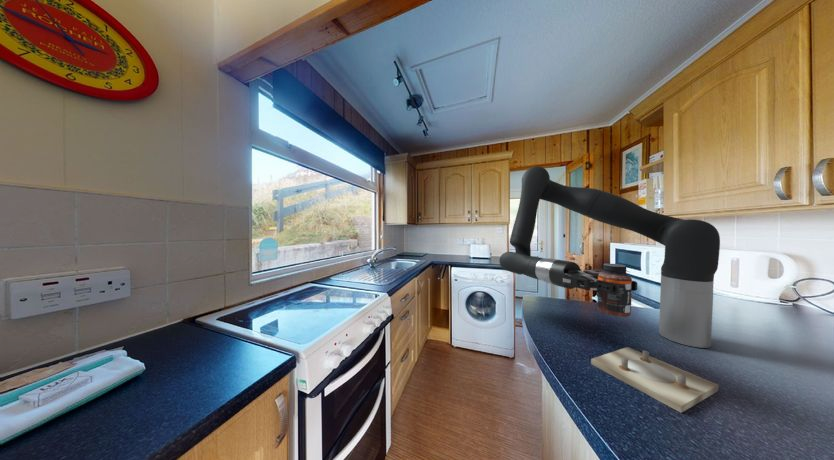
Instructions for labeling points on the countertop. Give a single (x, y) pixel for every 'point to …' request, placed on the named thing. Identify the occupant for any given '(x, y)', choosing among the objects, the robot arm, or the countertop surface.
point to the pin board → (656, 378)
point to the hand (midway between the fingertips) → (627, 287)
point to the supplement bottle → (615, 302)
